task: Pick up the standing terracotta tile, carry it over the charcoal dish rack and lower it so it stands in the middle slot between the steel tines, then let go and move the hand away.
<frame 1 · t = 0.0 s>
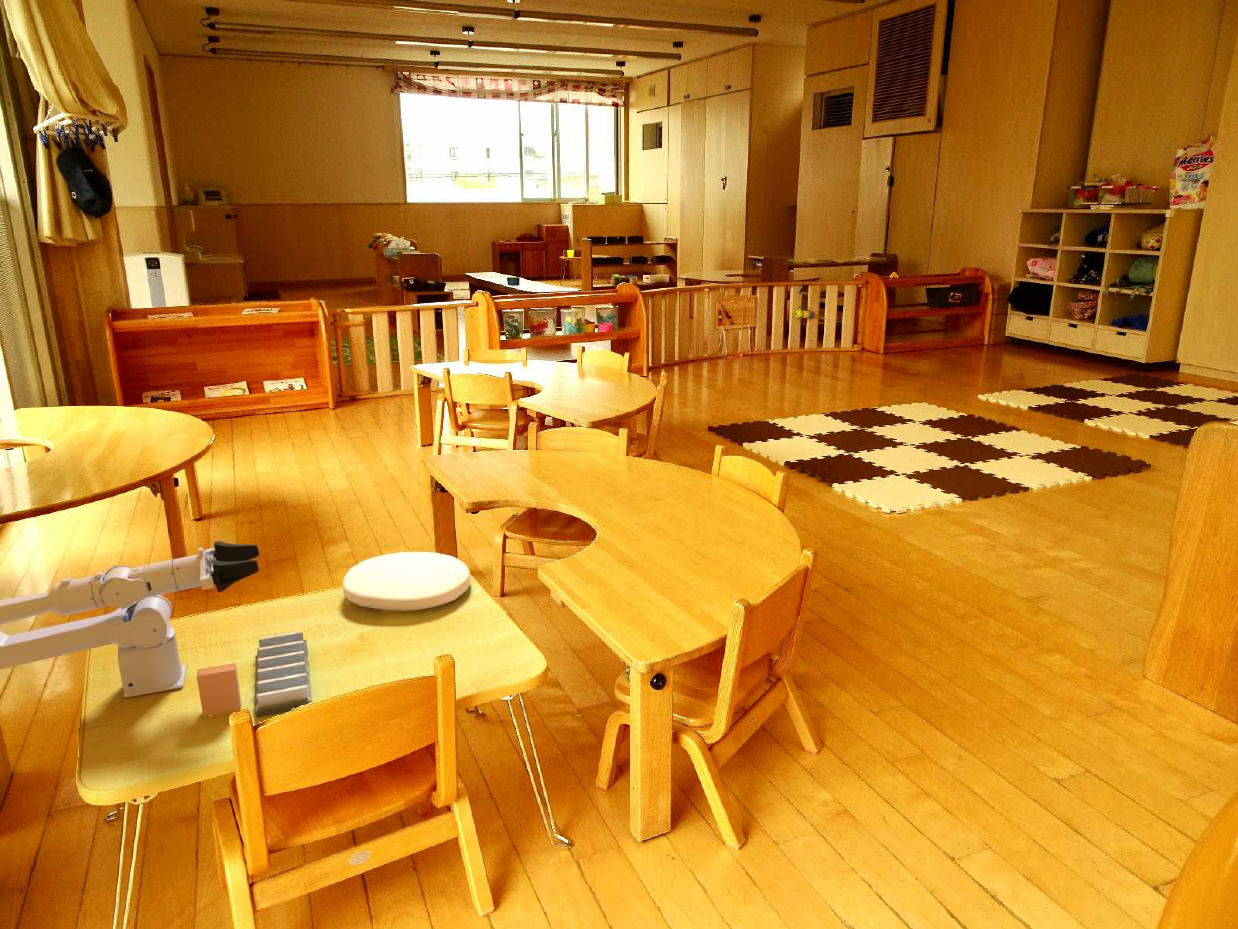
hand: (258, 557, 156), 22 cm above the table, tool horizontal, fingers open, 7 cm apart
white round disc: (409, 592, 192), on the table
tile: (222, 710, 147), on the table
rack: (283, 678, 157), on the table
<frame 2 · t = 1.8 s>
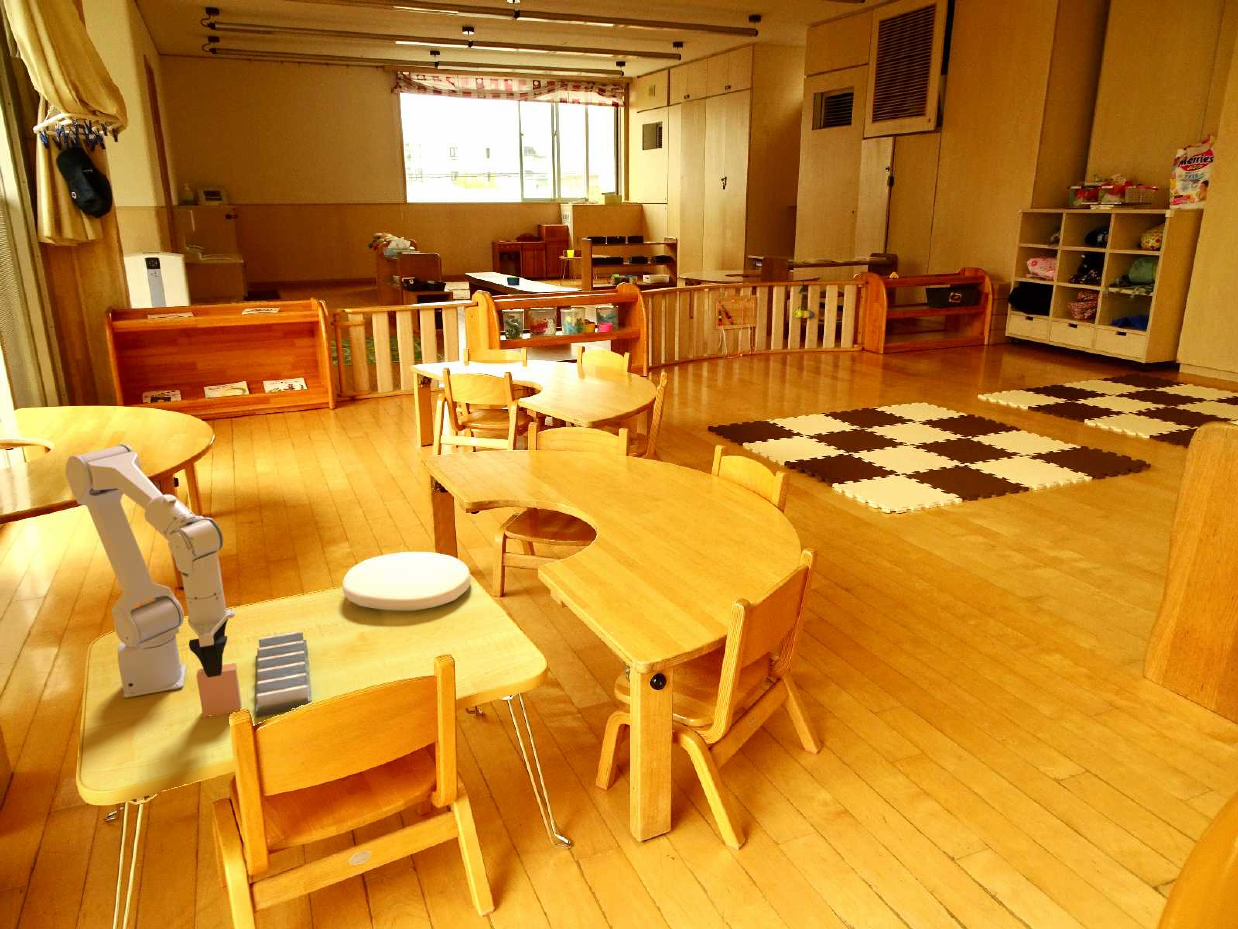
hand: (215, 664, 145), 9 cm above the table, tool pointing down, fingers open, 7 cm apart
nothing on the table moved.
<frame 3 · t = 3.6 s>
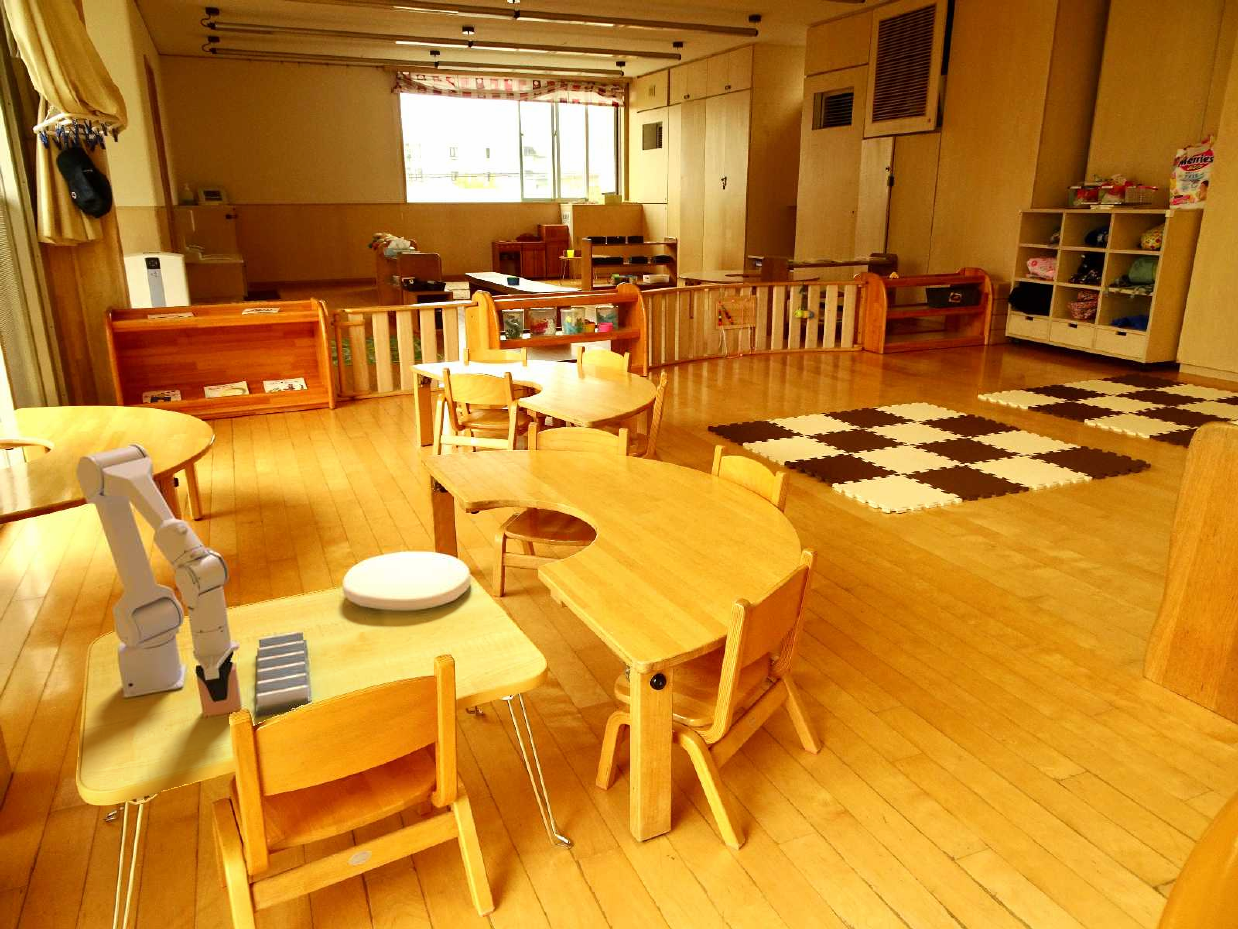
hand: (220, 695, 146), 3 cm above the table, tool pointing down, fingers closed on tile, 2 cm apart
tile: (222, 710, 147), on the table, touching gripper
everything else where it was.
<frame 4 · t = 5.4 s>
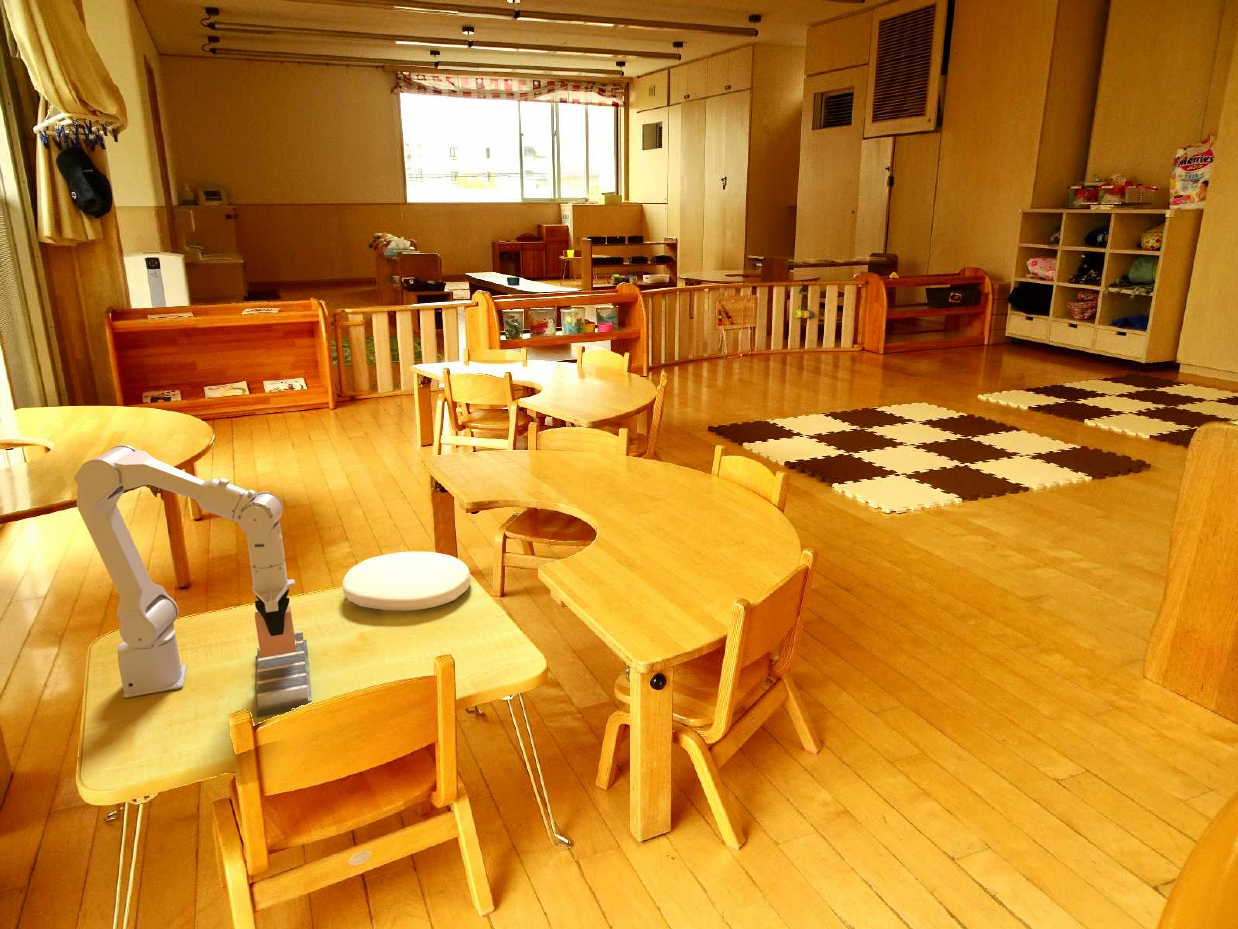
hand: (276, 630, 154), 10 cm above the table, tool pointing down, fingers closed on tile, 2 cm apart
tile: (278, 651, 155), point 6 cm above the table, touching gripper
everything else where it was.
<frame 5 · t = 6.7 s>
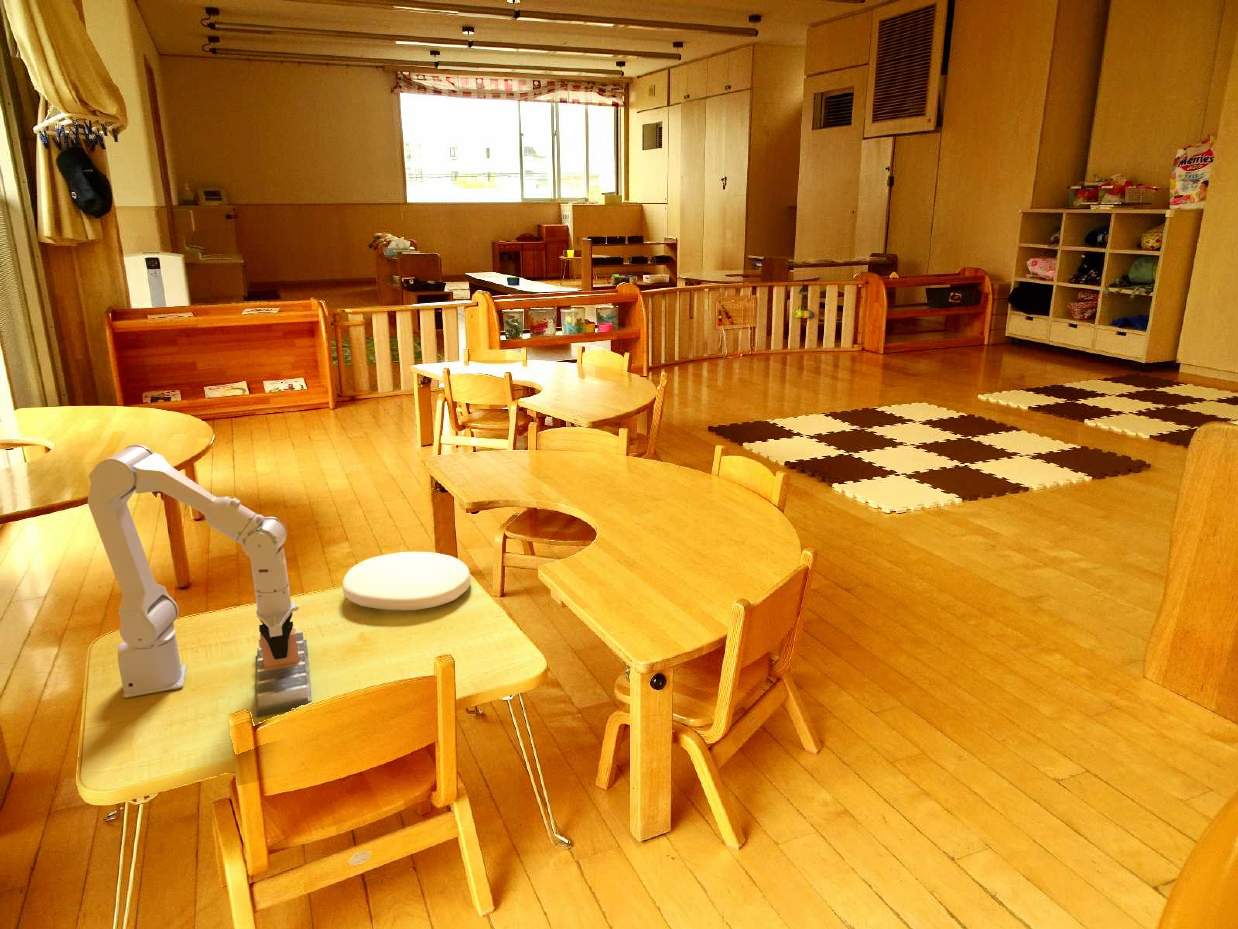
hand: (280, 653, 155), 5 cm above the table, tool pointing down, fingers closed on tile, 2 cm apart
tile: (283, 672, 157), point 1 cm above the table, touching gripper, rack
everything else where it was.
when the fingers open (5 cm above the table, at t = 7.2 s): tile stays where it is, resting on rack.
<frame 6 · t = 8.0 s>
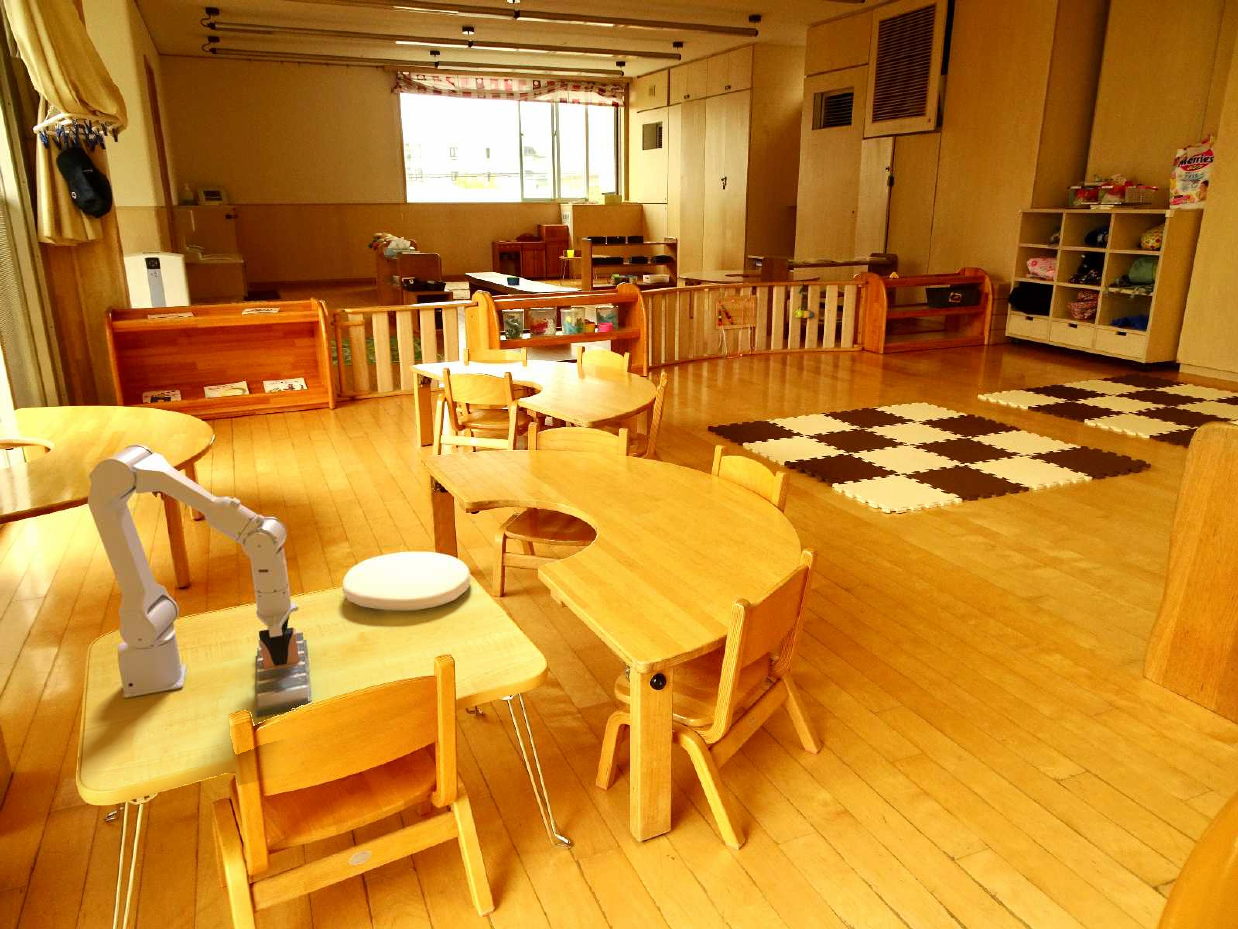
hand: (280, 654, 155), 5 cm above the table, tool pointing down, fingers open, 7 cm apart
tile: (283, 672, 157), point 1 cm above the table, touching rack
everything else where it was.
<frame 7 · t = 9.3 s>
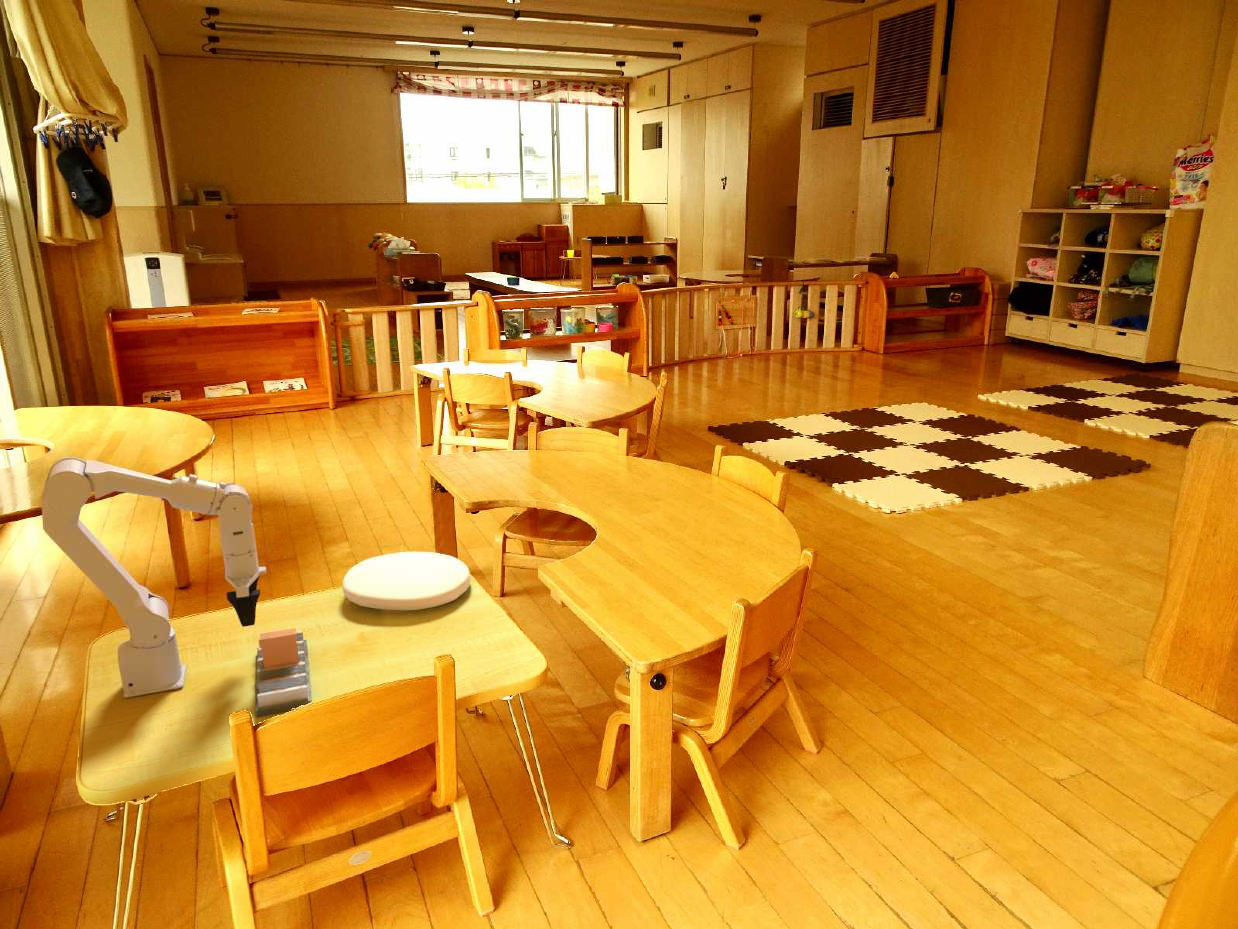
hand: (248, 616, 160), 9 cm above the table, tool pointing down, fingers open, 7 cm apart
nothing on the table moved.
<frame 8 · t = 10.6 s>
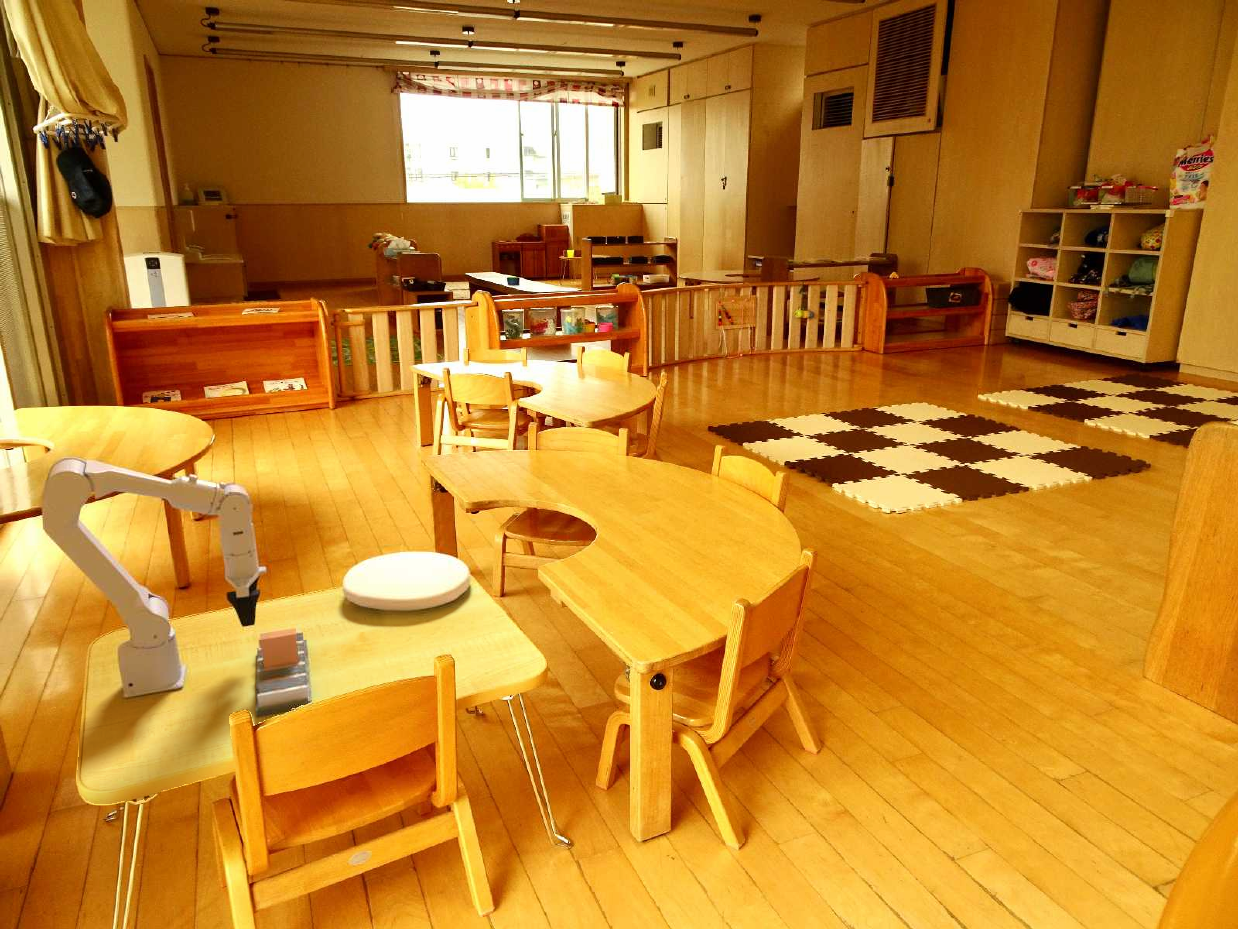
hand: (248, 616, 160), 9 cm above the table, tool pointing down, fingers open, 7 cm apart
nothing on the table moved.
at the end: tile 0.0 cm off-centre on the rack, point 1.2 cm above the rack's base; tile tilted 0°; the gripper is holding nothing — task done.
